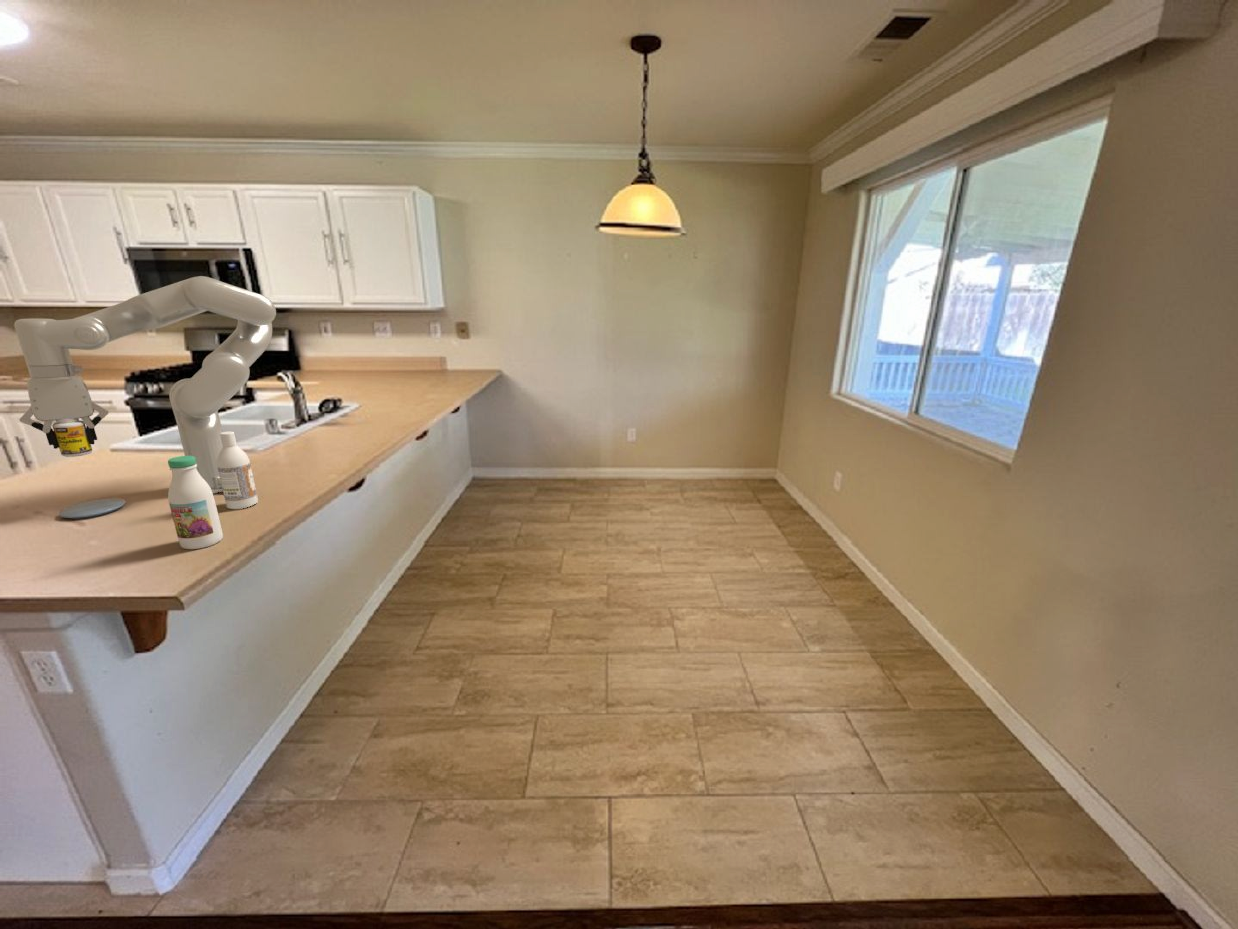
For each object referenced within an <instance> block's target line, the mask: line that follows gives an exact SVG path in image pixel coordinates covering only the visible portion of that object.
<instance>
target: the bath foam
mask: <svg viewBox="0 0 1238 929" xmlns="http://www.w3.org/2000/svg"><path fill="white" fill-rule="evenodd" d="M220 437H221V441H222V445H223V448H222V450H221V452H220V453H219V456H218V459H217V468H218V472H219V476H220V481H221V485H222V489H223V492H222V493H223V497H224V501H225V505H226V508H228V509H230V510H242V509H243V508H244V509H247V507H248V508H251V507H253V506H252V505H254V504H256V503H257V504H258V503H259V499H258V497H259V496H258V492H257V489H256V485H255V477H254V475H253V469H252V466H251V460H250V458H249V457H248V455H247V453H246V452H245V451H244V449H242V448H241V447H239V446H238V445H237V440H236V436H235V432H234V431H223V432H222V433H220ZM257 504H256V505H257ZM250 506H251V507H250ZM254 506H255V505H254Z"/></svg>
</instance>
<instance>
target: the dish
mask: <svg viewBox="0 0 1238 929" xmlns="http://www.w3.org/2000/svg"><path fill="white" fill-rule="evenodd" d="M125 505H126V500H124V499H123V498H115V497H114V498H101V499H94V500H87V501H84V502H81V503H77V504H74V505H70V506H67V507H65V508H63V509H62V510H60V511H59V513H58V514H59V516H60V517H61V518H65V519H66V518H67V519H77V520H78V519H79V520H80V519H90V518H95V517H99V516H103V515H107V514H110V513H113V512H115V511H117V510H118V509H121V508H122V507H124V506H125Z"/></svg>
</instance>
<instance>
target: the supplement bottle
mask: <svg viewBox="0 0 1238 929" xmlns="http://www.w3.org/2000/svg"><path fill="white" fill-rule="evenodd" d="M86 426H87V425H86V424H85V423H84V422H83V420H82V419H81V420H80V418H76V419H72V418H66V419H61V420H55V422H54V423H52V426H51V427H52V429H53V431H54V433H55V436H56V440H57V443H58V446H59V448H58V449H59V452H60V455H61V456H62V457H66V458H72V457H83V456H86V455H89V454H91V453H93V448H92V444H90V442H89V439H88V435H87V432H86V428H87V427H86Z"/></svg>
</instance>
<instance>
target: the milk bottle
mask: <svg viewBox="0 0 1238 929" xmlns="http://www.w3.org/2000/svg"><path fill="white" fill-rule="evenodd" d="M167 465H168V467H169V470H170V471H171V475H172V476H171V482H170V484H169V487H168V492H167V497H168V498H167V499H168V504H169V508H170V512H171V516H172V520H173V525H174V528H175V532H176V536H177V538H178V543H179V546H180V548H182V549H185V550H198V549H203V548H206V547H211V546H213V545H216V544H217V543H220V542H221V541H222V540H223V537H224V534H223V530H222V526H221V521H220V517H219V513H218V512H219V511H218V509H217V504H216V501H215V497H214V494H213V493H212V490H211V488H210V486H209V485H208V483H207V482H206V481H205V480H204V479H203V478H202V477H201V475H200V474H199V473H198V471H197V469H196V466H197V464H196V459H195V457H194V456H185V455H181V456H175V457H172V458H170V459H168V460H167ZM220 540H221V541H220ZM219 541H220V542H219Z"/></svg>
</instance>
